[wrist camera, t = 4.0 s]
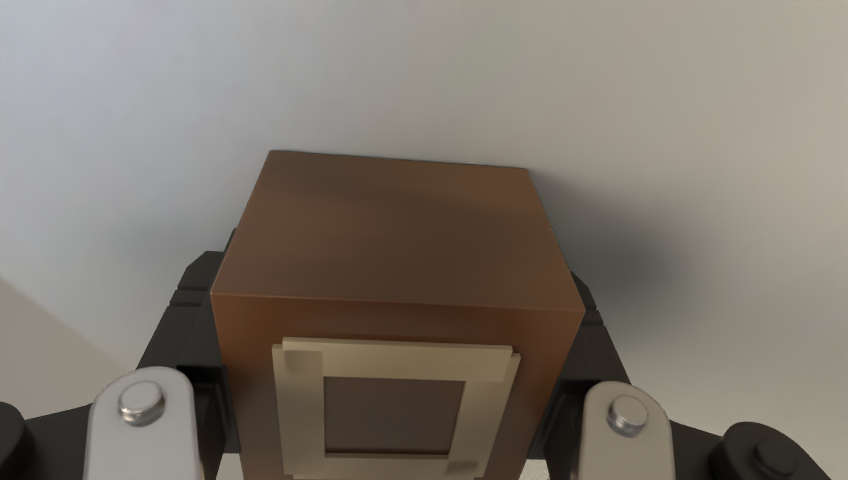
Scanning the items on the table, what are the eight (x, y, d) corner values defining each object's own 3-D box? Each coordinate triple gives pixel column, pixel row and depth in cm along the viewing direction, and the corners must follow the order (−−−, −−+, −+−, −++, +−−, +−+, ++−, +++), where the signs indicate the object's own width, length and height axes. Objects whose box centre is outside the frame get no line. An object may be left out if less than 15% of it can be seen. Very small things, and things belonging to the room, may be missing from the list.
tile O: (283, 334, 13) (244, 500, 9) (268, 148, 10) (206, 297, 7) (484, 341, 13) (513, 503, 10) (527, 168, 10) (589, 315, 7)
